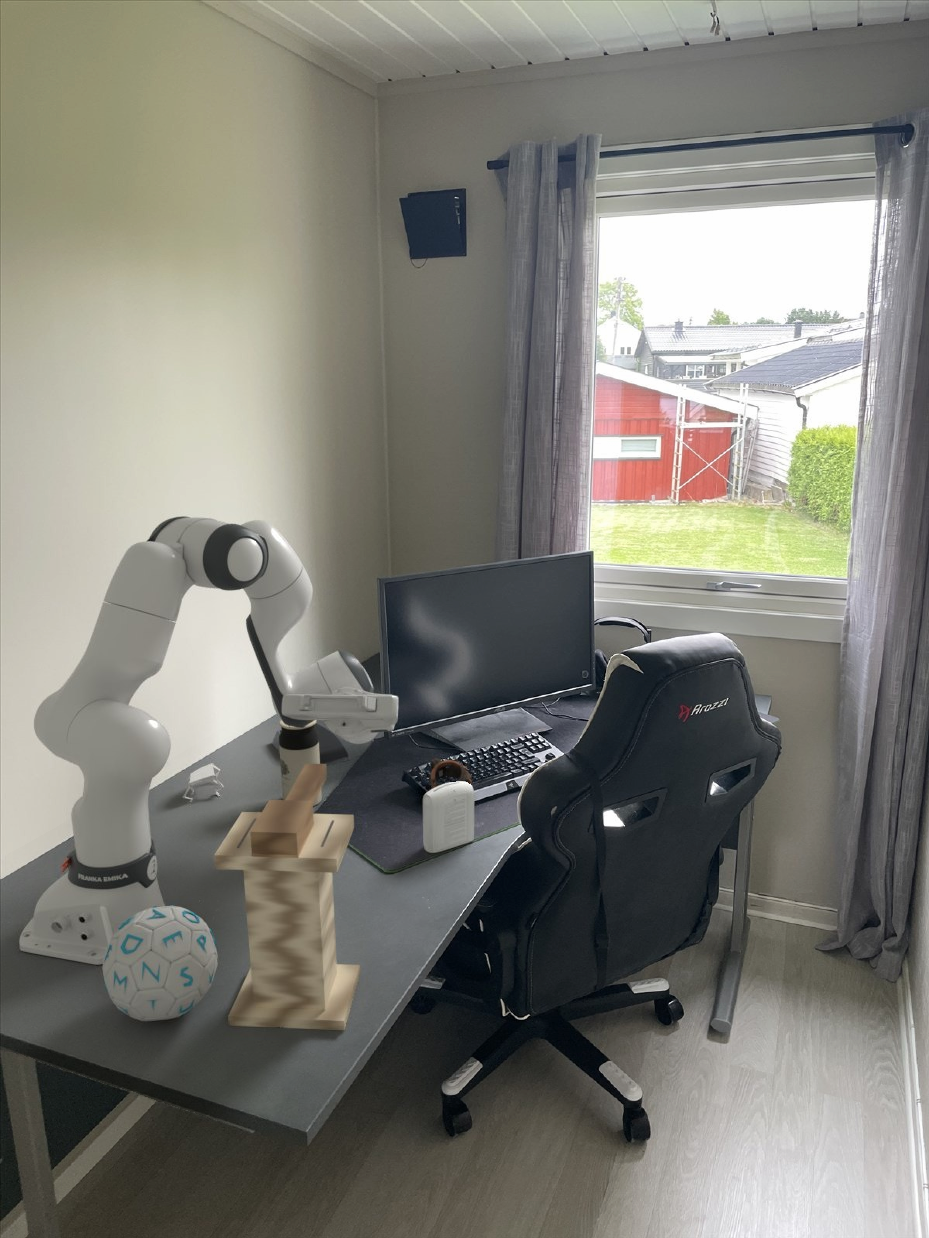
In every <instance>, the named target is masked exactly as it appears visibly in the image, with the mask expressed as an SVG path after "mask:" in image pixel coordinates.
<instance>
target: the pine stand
mask: <svg viewBox="0 0 929 1238" xmlns="http://www.w3.org/2000/svg"><path fill="white" fill-rule="evenodd" d="M261 813H262V812H261V811H260V812H259V811H241V813H239V814H240V815H239V816H238V817H237V819H236V821H235V822H234V823H233V826H232V827H231V828H230V830H229V831H228V833H227V835H226V836H225V838H224V839H223V841H222V842H221V844H220V845H219V847H218V849H217V850H216V852H215V853H214V855H213V859H214V868H215V870H231V871H232V870H236V871H238V870H239V871H242V873H243V883H244V884H243V885H244V896H245V907H246V908H245V909H246V910H245V911H246V920H247V921H246V923H247V936H248V946H249V947H248V948H249V960H250V968H249V970H248V973H247V974H246V976H245V979H244V981H243V983H242V986H241V987H240V990H239V992H238V994H237V997H236V998H235V1001H234V1003H233V1005H232V1007H231V1010H230V1011H229V1013H228V1015H227V1019H228V1026H230V1027H231V1026H232V1027H255V1028H256V1027H257V1028H260V1027H261V1028H276V1027H277V1028H276V1029H282V1027H283V1029H303V1030H304V1029H305V1030H328V1031H346V1026H347V1024H346V1023H347V1022H348V1020H349V1016H350V1012H351V1009H350V1008H352V1004H353V1002H354V998H353V997H355V995H354V993H355V994H356V991H355V989H357V987H358V984H357V982H358V983H359V980H360V977H359V975H360V976H361V965H360V964H340V963H338V962H337V945H336V944H337V943H336V925H335V924H336V922H335V920H336V919H335V903H334V886H333V885H334V881H333V880H334V878H333V874H334V873H335V874H337V873H338V871H339V869H340V865H341V864H342V861H343V858H344V856H345V854H346V851H347V848H348V845H349V842H350V839H351V837H352V834H353V833H354V832H353V831H354V829H355V816H354V814H343V813H342V814H337V813H333V814H332V813H313V818H314V825H313V828H312V830H311V832H310V834H309V836H308V838H307V840H306V842H305V845H304V847H303V849H302V851H301V853H300V855H299V857H298V858H285V857H252V855H251V854H252V848H251V835H250V831H251V830H252V828H253V826H254V825H255V823H256V821H257V820H258V818H259V816H260V815H261ZM358 979H359V980H358ZM356 986H357V987H356ZM352 1001H353V1002H352ZM278 1027H280V1028H278Z"/></svg>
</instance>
